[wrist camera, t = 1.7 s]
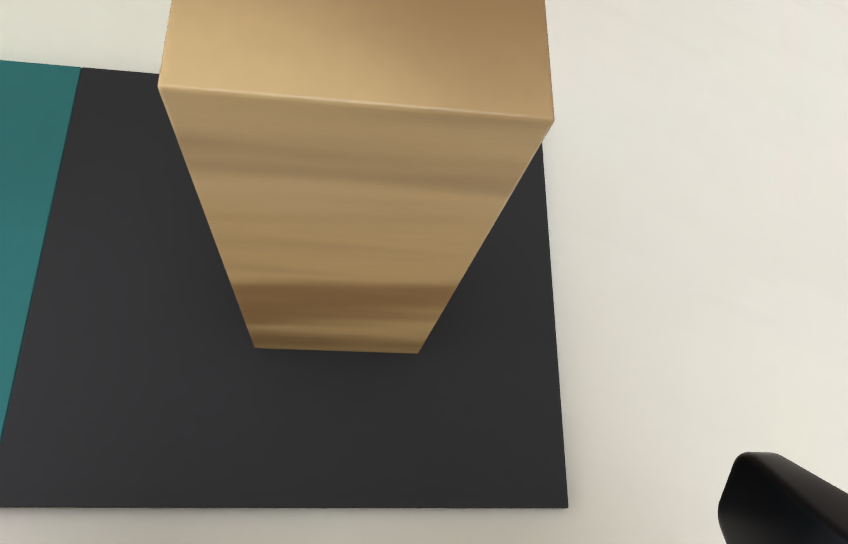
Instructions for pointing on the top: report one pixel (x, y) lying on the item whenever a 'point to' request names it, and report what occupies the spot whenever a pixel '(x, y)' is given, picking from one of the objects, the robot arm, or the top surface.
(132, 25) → the top surface
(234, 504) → the runner mat
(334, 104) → the maple block
